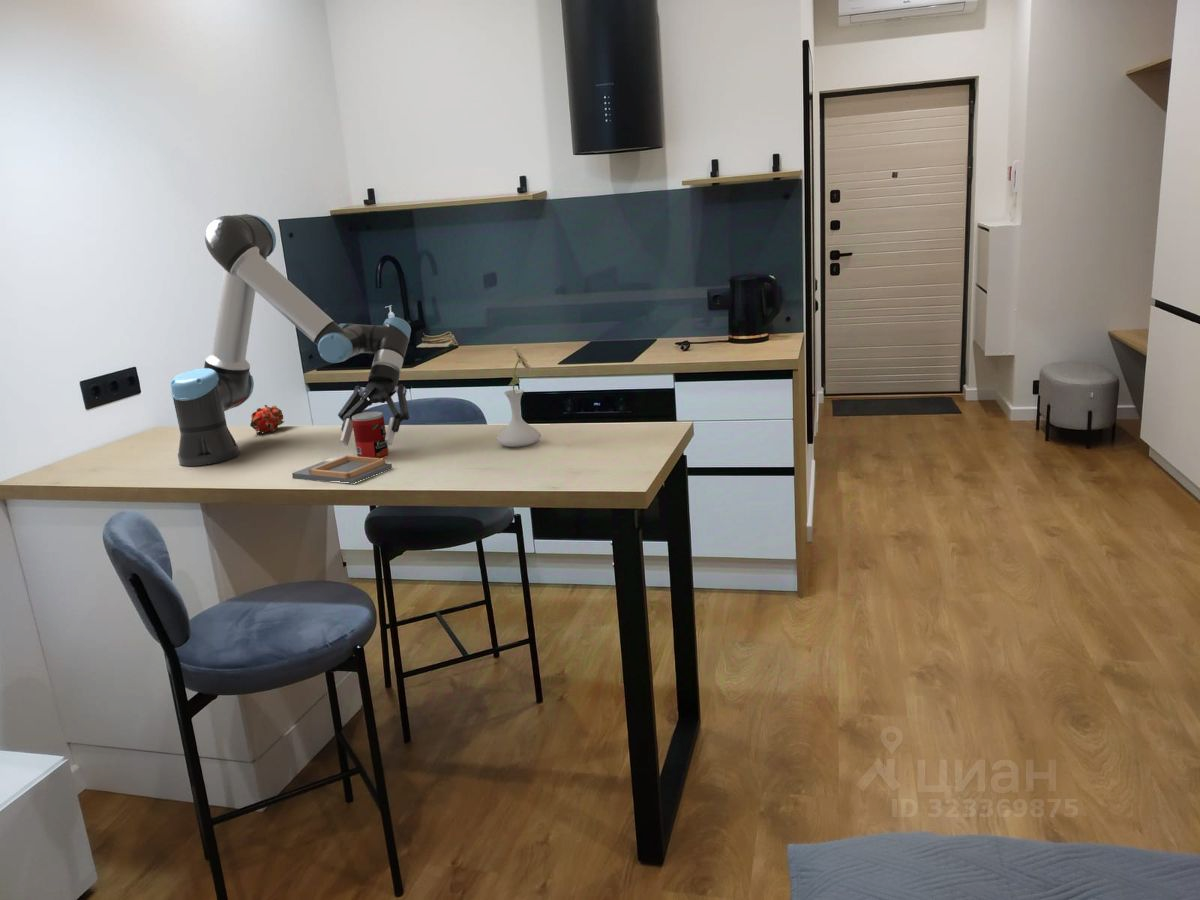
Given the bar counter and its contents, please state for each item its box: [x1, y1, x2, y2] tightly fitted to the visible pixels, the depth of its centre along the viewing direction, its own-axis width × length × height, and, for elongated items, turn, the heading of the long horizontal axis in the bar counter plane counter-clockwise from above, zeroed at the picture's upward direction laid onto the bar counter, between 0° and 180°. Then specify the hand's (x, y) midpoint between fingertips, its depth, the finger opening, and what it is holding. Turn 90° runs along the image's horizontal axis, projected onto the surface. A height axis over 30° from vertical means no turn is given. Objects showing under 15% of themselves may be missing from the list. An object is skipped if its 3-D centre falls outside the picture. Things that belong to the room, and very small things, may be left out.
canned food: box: [352, 411, 390, 459], centre depth 236 cm, size 8×8×11 cm
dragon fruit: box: [249, 404, 285, 435], centre depth 276 cm, size 8×8×12 cm
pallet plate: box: [291, 455, 393, 483], centre depth 224 cm, size 20×13×2 cm, turn 60°
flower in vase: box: [496, 345, 542, 448], centre depth 235 cm, size 13×11×25 cm
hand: (366, 442), depth 234 cm, fingers open, 12 cm apart
